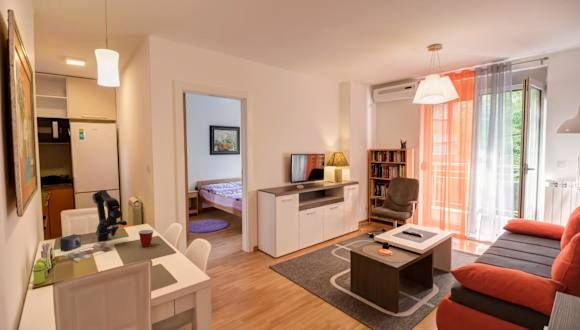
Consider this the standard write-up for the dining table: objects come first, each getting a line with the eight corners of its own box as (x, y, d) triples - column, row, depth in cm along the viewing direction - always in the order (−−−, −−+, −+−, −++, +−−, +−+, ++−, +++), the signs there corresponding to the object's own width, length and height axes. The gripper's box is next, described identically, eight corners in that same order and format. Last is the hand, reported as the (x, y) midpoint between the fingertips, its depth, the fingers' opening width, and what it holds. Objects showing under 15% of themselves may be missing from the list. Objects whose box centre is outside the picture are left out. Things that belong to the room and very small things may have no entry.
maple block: (103, 246, 207) (103, 241, 207) (107, 248, 204) (107, 242, 204) (94, 249, 202) (94, 243, 202) (98, 250, 199) (98, 245, 199)
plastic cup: (157, 245, 215) (157, 230, 214) (143, 249, 206) (143, 233, 205) (149, 242, 221) (148, 227, 220) (135, 246, 212) (135, 231, 211)
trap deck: (99, 246, 212) (99, 243, 211) (114, 251, 202) (114, 248, 201) (63, 256, 192) (63, 252, 191) (77, 263, 182) (77, 259, 181)
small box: (67, 253, 197) (66, 239, 197) (60, 252, 199) (59, 238, 198) (81, 248, 208) (80, 234, 207) (74, 247, 209) (73, 234, 208)
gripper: (119, 212, 221) (119, 231, 222) (92, 217, 205) (93, 238, 206) (127, 214, 215) (127, 233, 216) (100, 219, 199) (101, 240, 200)
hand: (112, 236), depth 210 cm, fingers closed
